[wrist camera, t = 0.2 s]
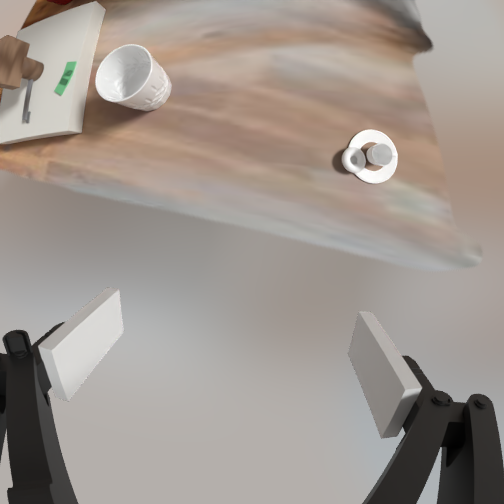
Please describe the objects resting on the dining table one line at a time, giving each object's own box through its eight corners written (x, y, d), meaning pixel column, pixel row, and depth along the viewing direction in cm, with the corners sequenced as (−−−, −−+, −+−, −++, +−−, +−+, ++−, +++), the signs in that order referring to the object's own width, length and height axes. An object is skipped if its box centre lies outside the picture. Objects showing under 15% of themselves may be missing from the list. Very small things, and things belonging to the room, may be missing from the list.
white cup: (118, 96, 38) (85, 81, 28) (153, 58, 36) (126, 34, 27) (149, 125, 39) (119, 114, 29) (186, 86, 38) (165, 64, 28)
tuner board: (29, 36, 34) (17, 30, 30) (106, 9, 33) (95, 0, 29) (8, 144, 40) (-6, 144, 36) (81, 132, 39) (67, 130, 35)
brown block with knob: (35, 54, 32) (-3, 40, 22) (48, 49, 32) (10, 33, 22) (22, 121, 35) (-21, 117, 25) (35, 118, 35) (-9, 113, 25)
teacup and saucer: (335, 172, 40) (342, 172, 36) (348, 120, 38) (356, 115, 34) (389, 190, 40) (400, 192, 36) (400, 141, 38) (412, 138, 34)
